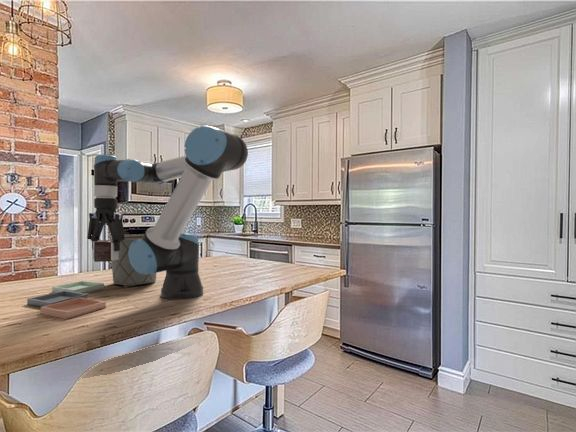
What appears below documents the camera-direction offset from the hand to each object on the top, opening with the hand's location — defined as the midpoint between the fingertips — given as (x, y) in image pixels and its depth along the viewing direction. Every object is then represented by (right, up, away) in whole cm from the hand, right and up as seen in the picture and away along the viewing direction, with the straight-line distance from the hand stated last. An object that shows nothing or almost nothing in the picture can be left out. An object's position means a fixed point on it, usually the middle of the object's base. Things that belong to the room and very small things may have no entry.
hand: (105, 259), depth 124 cm
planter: (+1, -13, +21) cm, 25 cm away
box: (0, -1, 0) cm, 1 cm away
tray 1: (-11, -14, -9) cm, 20 cm away
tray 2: (-15, -13, +7) cm, 21 cm away
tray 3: (0, -14, -19) cm, 23 cm away
